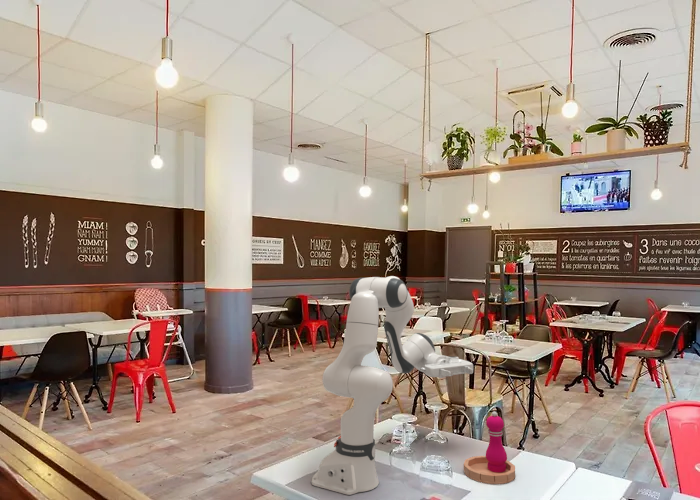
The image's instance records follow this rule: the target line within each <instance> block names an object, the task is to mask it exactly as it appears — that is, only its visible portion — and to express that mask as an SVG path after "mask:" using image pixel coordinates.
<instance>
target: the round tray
mask: <svg viewBox="0 0 700 500" xmlns="http://www.w3.org/2000/svg"><path fill="white" fill-rule="evenodd" d="M488 462H489V461H488V460H487V459H486V455H476V456H471V457H468V458H466V459H465V460H464V462H463V471H464V472H463V473H464V474H465V476H467V477H468V478H469V479H470V480H472V481H476V482H478V483H481V482H482V483H483V484H486V485H504V484H509V483H511V482H512V481H514V480H515V479H516V465H514V464H513V463H512V462H511V461H510V460H508V459H507V460H506V462H505V464H506V471H504V472H500V473H497V472H492V471H490V470H489V469H488V466H487V463H488Z"/></svg>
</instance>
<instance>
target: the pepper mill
mask: <svg viewBox="0 0 700 500" xmlns="http://www.w3.org/2000/svg"><path fill="white" fill-rule="evenodd" d="M485 425H486V427H487V428H488V429H487V434H488V436H489V441H488V442H489V443H488V446H487V449H486V451H485V456H486V459H487V460H488V461H489V462H488V463H487V466H488V469H489V470H490V471H492V472H497V473H500V472H504V471H506V464H505V462H506V460H507V461H508V454H507V451H506V449H505V447H504V445H503V440H502V436H503V435H504V432H503V429H504V426H505V423H504V420H503V418H502V417H500V416H499V415H498V413H497V411H495V410H494V411H492V413H491V415H490V416H488V417H487V418H486V422H485Z"/></svg>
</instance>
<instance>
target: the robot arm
mask: <svg viewBox="0 0 700 500" xmlns="http://www.w3.org/2000/svg"><path fill="white" fill-rule="evenodd" d="M348 290H349V291H348V294H349V298H350V304H349V307H348V311H347V317H346V324H345V333H344V339H343V344H342V348H341V350H340V352H339V354H338V356H337V357H336V358H335V359H334V361H332V362H331V363H330V364H328V366H326V368H325V369H324V371H323V374H322V380H321V381H322V386H323V387H324V389H325V390H326V391H327V392H329V393H331V394H333V395H336V396H339V397H344V398H351V399H353V406H352V407H351V408H349V409H348V410H345V412H343V414H342V415H341V417H340V435H339V436H338V438H337V439H336V440H335V442H334V444H333V448H335V449H334V450H332V452H331V453H329V454H328V455H326V456H325V457H324V458H323V459H322V460H321V462H320V464H319V467H318V471H316V472H315V473H314V474H313V475H312V477H311V485H312V486H315V487H318V488H322V489H325V490H330V491H333V492H335V493H340V494H343V495H347V496H349V495H355V494H357V493H362V492H369V491H371V490H374V489H375V488H377V487H378V486H379V484H380V480H379V477H378V473H377V469H376V468H377V467H376V463H375V457H376V442H375V441H376V440H375V437H374V431H375V429H374V428H375V425H374V424H375V416H376V413H377V410H378V409H379V407H380V405H381V404H382V403H383V402H384V401H386V400H387V399H388V398H389V397H391V396H390V395H391V393H392V391H393V387H394V385H393V384H394V382H393V378H392V375H391V374H390V372H388V371H387V370H384V369H382V368H379V367H377V366H368V365H362V361H363V360H364V358H365V356H366V355H368V354H370V353H372V352H374V351H375V349H376V348H377V346H378V345H377V344H378V334H379V324H380V323H379V322H380V321H379V320H380V319H379V318H380V314H379V313H380V311H379V309H384V310H385V320H384V321H385V322H384V325H383V329H384V333H385V338H386V341H387V344H388V349H389V352H390V361H391V365H392V366H393V368H394V369H395V370H396V371H397V372H398V373H400V374H409V373H411V372H412V371H413V370H414V368H415V369H416V370H418V371H419V372H422V373H424V374H425V375H426V376H428V377H430V378H439V379H444V378H446V377H453V376H455V375H456V376H457V375H464V374H469V375H473V373H474V364H473V363H472V362H470V361H469V360H465V359H462V358H459V356H449V355H448V356H447V355H443V354H442V355H441V354H438V353H436V348H435V344H434V342H433V341H432V339H431V338H430V337H429V336H428V335H426V334H424V333H420V332H415V333H413V334H412V335H411V336H410V337H409V338H408V339H407V340H406V341H405V342H403V344H402V339H401V336H402V333H403V331H404V330H405V327H406V326H407V324H408V323H409V321H410V320H411V319H412V318H413V315H414V313H415V312H414V311H415V306H414V302H413V299H412V297H411V294H410V293H409V290H408V288H407V285H406V283H405V282H404V281H403V280H402V279H400V278H399V277H398V276H394V275H390V276H386V277H380V276H372V277H371V276H370V277H358V278H355V279H354V280H352V282H351V283H350V286H349V289H348Z"/></svg>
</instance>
